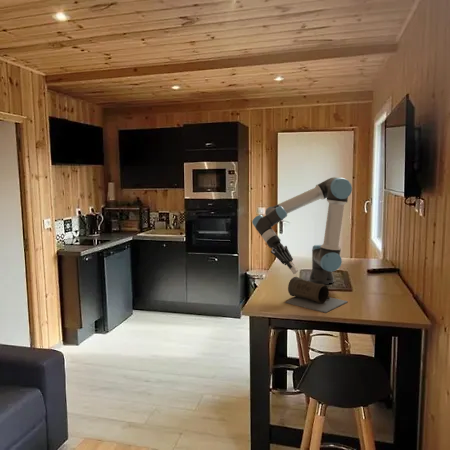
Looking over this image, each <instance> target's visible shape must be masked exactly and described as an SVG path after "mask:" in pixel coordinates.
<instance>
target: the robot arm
mask: <svg viewBox="0 0 450 450" xmlns="http://www.w3.org/2000/svg"><path fill="white" fill-rule="evenodd" d="M352 192H353V186H352V183H351V182H350V181H349V179H346V178H344V177H342V176H341V177H336V176H333V177H330V178H327V179H325V180H323V181H322V182H319V183H318V184H316V185H315V187H313V188H312V189H308V190H307V191H304V192H302V193H300V194H298V195H296V196H295V195H294V196H293V197H291V198H288V199H286V200H285V201H282V202H280V203H278V204H276V205H273V206H269V207H267V208H266V210H265V215H262V214H258V215H256V216H255V217H253V218H252V222H251V223H252V225H253V227H254V228H255V229H256V231H257V232H258V234H259V235H260V237H261V238H262V239H263V241H264V242H265V243H266V245H267V247H269V248H270V249H271V250H270V253H271V254H272V255H274V256H275V258H277V260H278V261H280V263H281V264H282V265H284V266H287V267H288V269H289V270H290V272H291V273H292V274H293V275H295V274H296V273H297V272H299V269H297V267H296V265H295V264H294V263H293V260H294V258H293V256H292V254H291V253H290V251H289V248H288V246H287V245H285V246H284V245H283V244H282V243H281V239H280V237H279V236H278V235H277V233H276V232H275V230H274V229H273V227H274V226H275V225H277V224H278V223H280V222H281V221H283V220H284V219H286V218H287V216H288V214H290V213H292V212H294V211H297V210H298V209H301V208H303V207H305V206H307V205H309V204H312V203H314V202H316V201H319V200H325V199H326V201H327V203H328V208H327V215H326V222H325V231H324V239H323V243H322V244H315V245H313V246H312V249H311V252H312V253H311V259H312V260H311V263H312V264H311V271H310V274H309V277H308V281H310V282H313V283H316V284H324V285H330V284H329V283H332V284H334V283H333V282H335V277H334V274H333V272H335V271H337V270H339V268H341V266H342V263H343V260H342V257H341V247H340V246H339V244H340V238H341V237H340V236H341V232H342V224H343V223H342V222H343V218H344V217H343V216H344V209H345V208H344V207H345V205H346V204H347V203H348V200H349V197H350V196H351V194H352Z"/></svg>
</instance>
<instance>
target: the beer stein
mask: <svg viewBox="0 0 450 450" xmlns="http://www.w3.org/2000/svg"><path fill="white" fill-rule="evenodd" d="M287 291H288V294H289V295H290V296H291V297H294V298H296V297H301V298H305V299H309V300H312V301H316V302H317V303H324V302H325V301H326V300H327V299H330V295H329V293H330V291H329V287H328V285H327V284H316V283H313V282H310V281H309V280H306V279H303V278H301V277H298V276H293V277H292V278H291V279H290V280H289V283H288V286H287Z"/></svg>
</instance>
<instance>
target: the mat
mask: <svg viewBox="0 0 450 450" xmlns="http://www.w3.org/2000/svg"><path fill="white" fill-rule="evenodd" d="M329 297H330V296H329ZM347 303H348V301H347V300H343V299H341V298H340V299H339V298H334V297H330V299H327V300H326V301H325V302H324V303H317V302H316V301H312V300H309V299H305V298H301V297H294V298H291V299H289V300H286V301H285V304H289V305H293V306H297V307H301V308H305V309H310V310H311V311H317V312H320V313H325V314H327V313H328V312H331V311H333V310H335V309H337V308H339V307H341V306H343V305H345V304H347Z"/></svg>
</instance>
